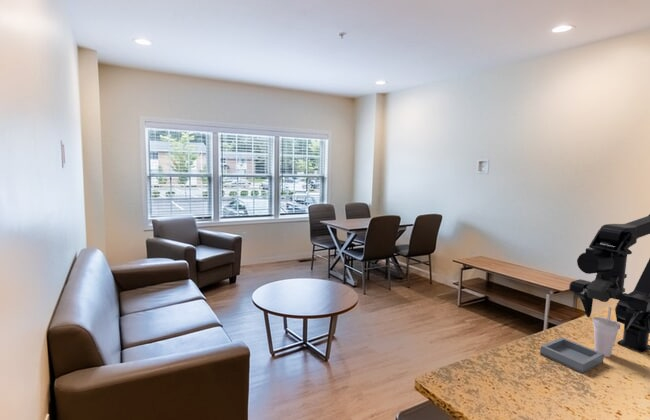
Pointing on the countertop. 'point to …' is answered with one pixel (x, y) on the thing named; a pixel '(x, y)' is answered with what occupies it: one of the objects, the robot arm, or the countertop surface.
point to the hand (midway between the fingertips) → (606, 322)
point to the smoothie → (605, 334)
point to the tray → (572, 354)
